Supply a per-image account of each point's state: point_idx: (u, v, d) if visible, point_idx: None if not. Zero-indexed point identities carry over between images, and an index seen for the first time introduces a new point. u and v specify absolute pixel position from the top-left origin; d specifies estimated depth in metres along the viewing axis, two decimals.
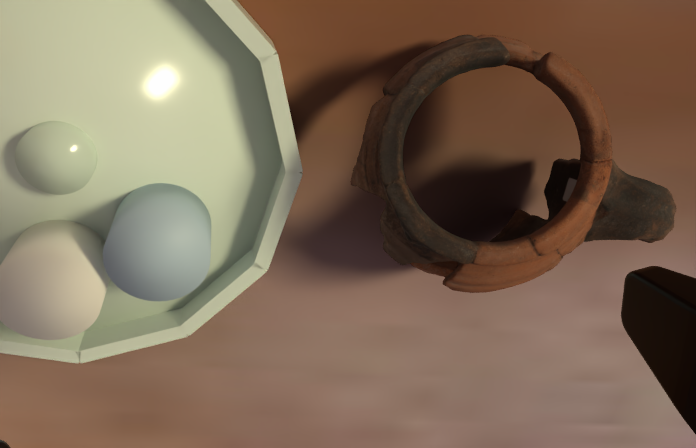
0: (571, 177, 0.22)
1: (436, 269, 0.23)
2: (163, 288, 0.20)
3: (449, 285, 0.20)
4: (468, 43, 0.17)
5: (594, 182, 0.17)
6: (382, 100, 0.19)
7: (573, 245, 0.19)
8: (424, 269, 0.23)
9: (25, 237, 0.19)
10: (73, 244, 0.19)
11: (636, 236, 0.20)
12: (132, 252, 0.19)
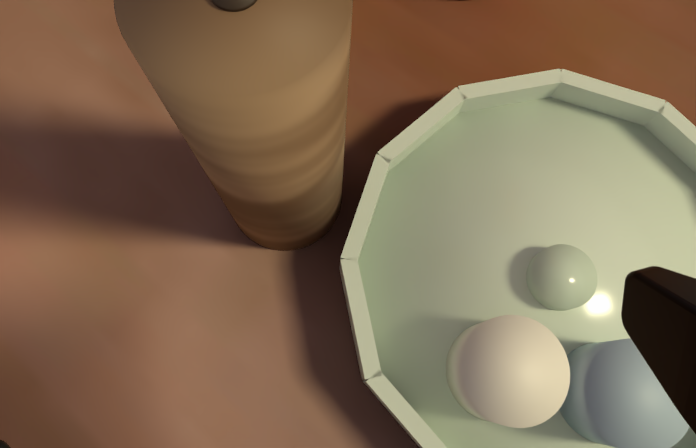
0: None
1: None
2: (626, 430, 0.17)
3: None
4: None
5: None
6: None
7: None
8: None
9: None
10: None
11: None
12: (620, 372, 0.18)
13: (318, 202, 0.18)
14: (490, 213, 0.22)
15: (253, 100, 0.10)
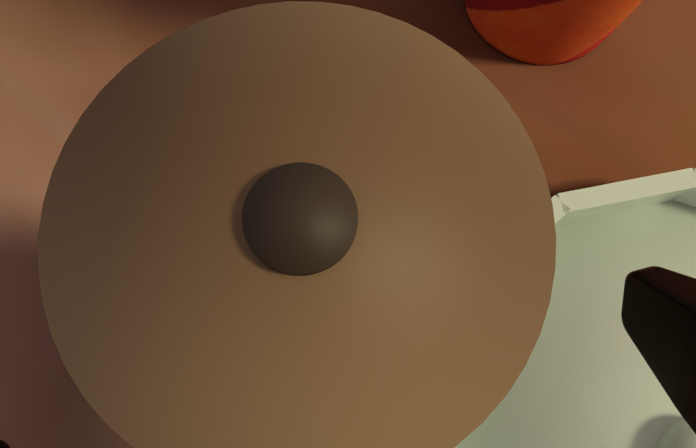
0: None
1: None
2: None
3: None
4: None
5: None
6: None
7: None
8: None
9: None
10: None
11: None
12: None
13: None
14: (602, 366, 0.16)
15: None
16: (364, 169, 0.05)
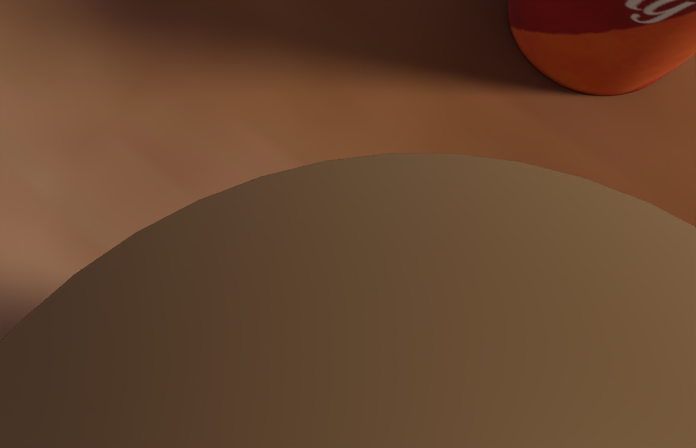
0: None
1: None
2: None
3: None
4: None
5: None
6: None
7: None
8: None
9: None
10: None
11: None
12: None
13: None
14: None
15: None
16: None
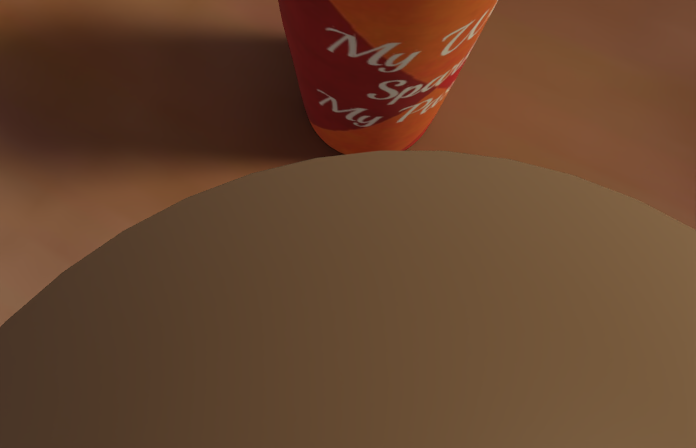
0: None
1: None
2: None
3: None
4: None
5: None
6: None
7: None
8: None
9: None
10: None
11: None
12: None
13: None
14: None
15: None
16: None
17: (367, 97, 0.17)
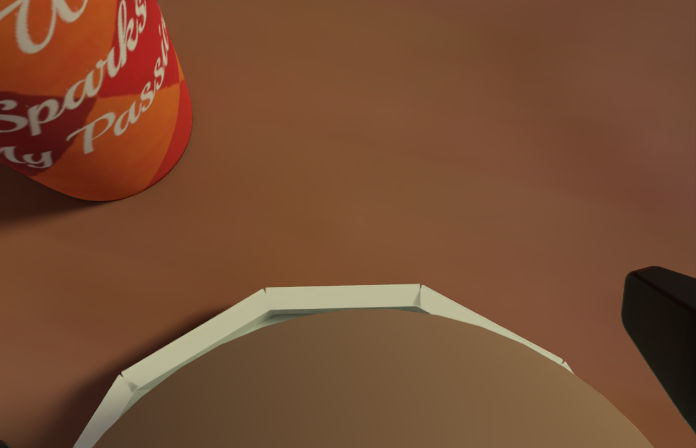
0: None
1: None
2: None
3: None
4: None
5: None
6: None
7: None
8: None
9: None
10: None
11: None
12: None
13: None
14: None
15: None
16: None
17: None
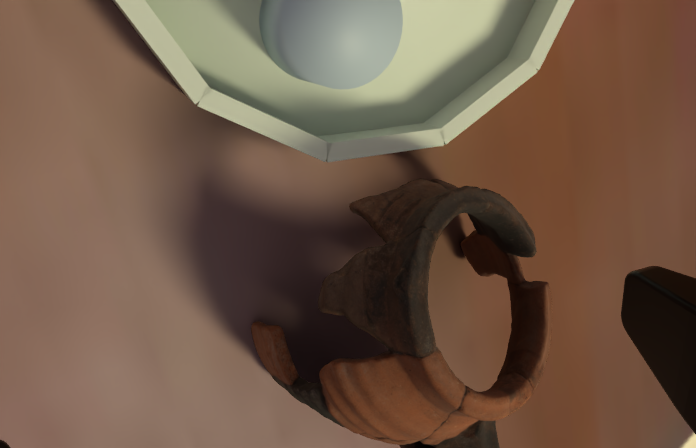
0: None
1: (285, 356, 0.19)
2: (305, 42, 0.15)
3: (338, 368, 0.16)
4: (523, 218, 0.19)
5: (521, 393, 0.17)
6: (434, 183, 0.19)
7: (440, 437, 0.18)
8: (275, 345, 0.19)
9: None
10: None
11: None
12: None
13: None
14: None
15: None
16: None
17: None
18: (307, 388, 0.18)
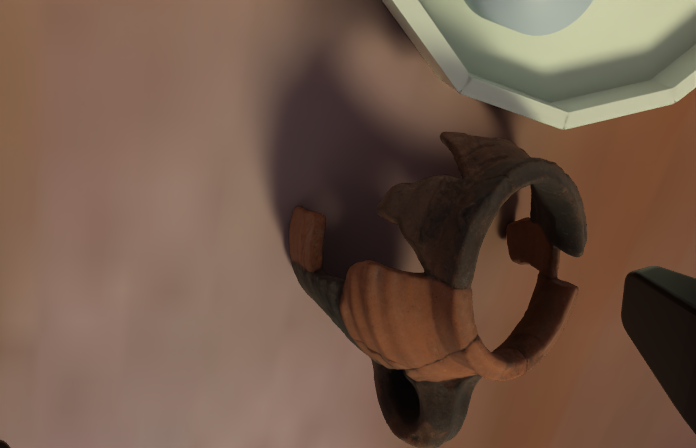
0: None
1: (318, 245, 0.20)
2: None
3: (371, 268, 0.17)
4: (585, 219, 0.20)
5: (516, 367, 0.18)
6: (522, 150, 0.19)
7: (426, 374, 0.19)
8: (313, 231, 0.20)
9: None
10: None
11: (431, 424, 0.20)
12: None
13: None
14: None
15: None
16: None
17: None
18: (328, 279, 0.19)
